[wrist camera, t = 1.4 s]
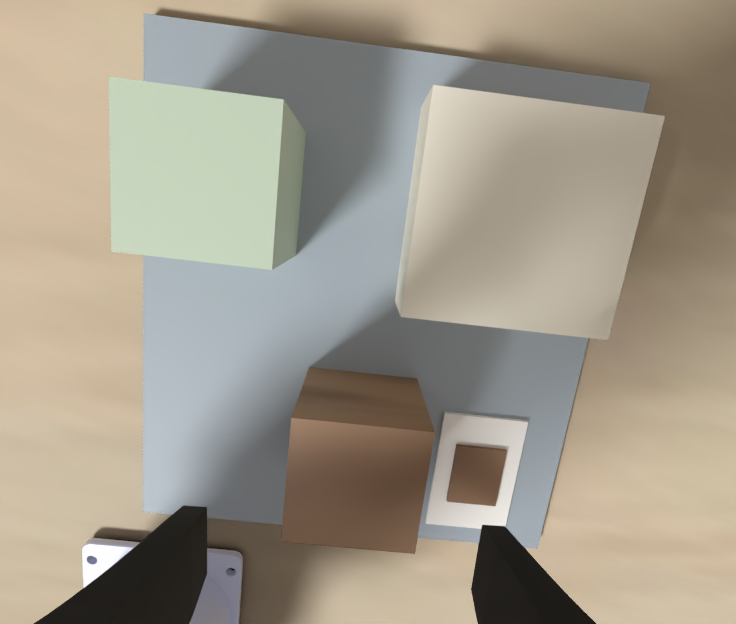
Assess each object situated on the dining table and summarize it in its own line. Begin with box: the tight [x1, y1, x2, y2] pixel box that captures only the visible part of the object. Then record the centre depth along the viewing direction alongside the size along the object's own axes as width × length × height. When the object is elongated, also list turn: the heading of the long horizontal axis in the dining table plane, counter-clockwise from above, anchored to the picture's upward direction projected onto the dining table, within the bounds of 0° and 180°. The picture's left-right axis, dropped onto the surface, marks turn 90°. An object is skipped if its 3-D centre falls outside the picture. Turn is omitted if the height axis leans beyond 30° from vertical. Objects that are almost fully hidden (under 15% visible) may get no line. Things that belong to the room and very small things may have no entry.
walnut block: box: [281, 367, 435, 554], centre depth 18 cm, size 5×5×5 cm
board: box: [143, 13, 651, 549], centre depth 19 cm, size 22×20×1 cm
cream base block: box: [395, 85, 665, 340], centre depth 17 cm, size 8×8×3 cm
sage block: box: [109, 77, 306, 270], centre depth 15 cm, size 5×5×5 cm
